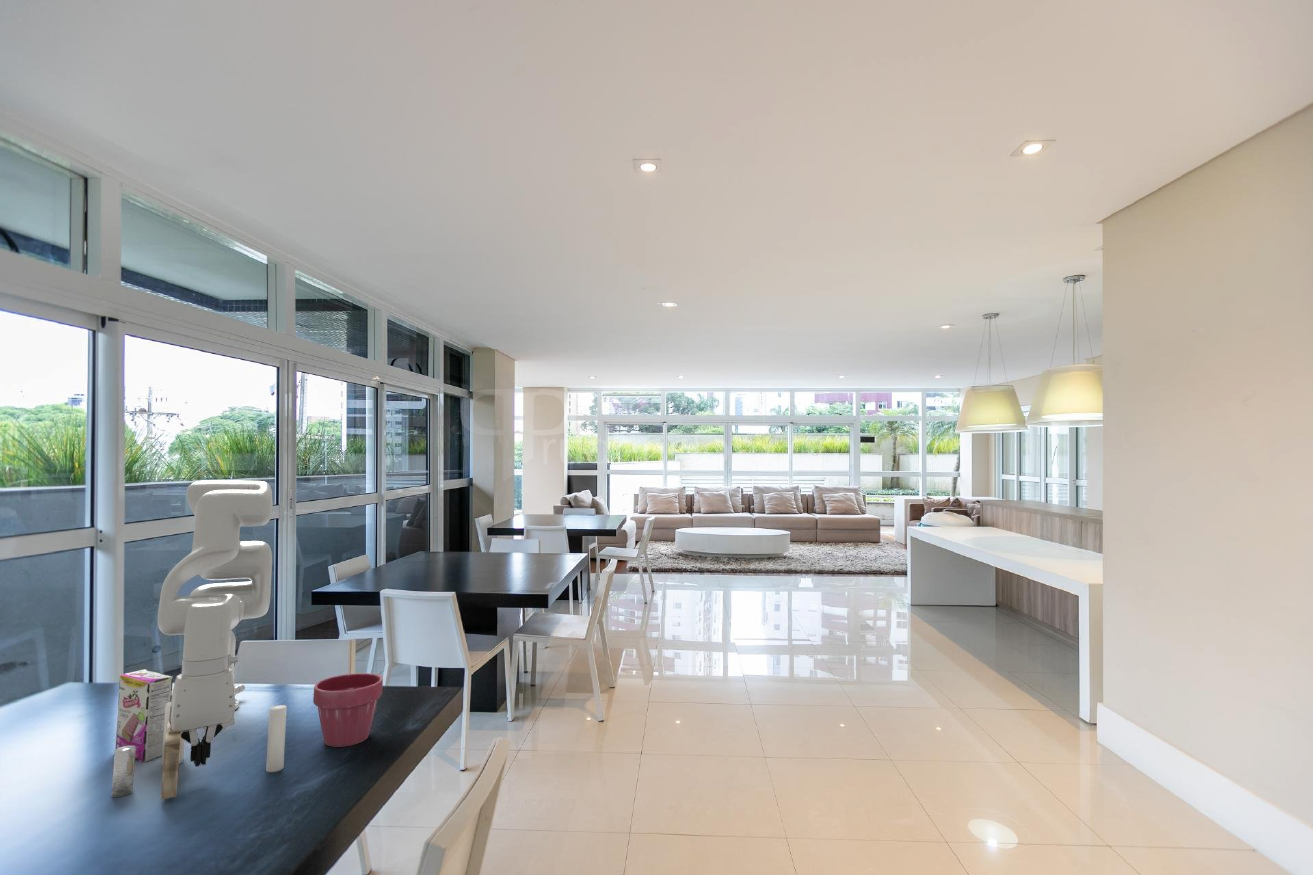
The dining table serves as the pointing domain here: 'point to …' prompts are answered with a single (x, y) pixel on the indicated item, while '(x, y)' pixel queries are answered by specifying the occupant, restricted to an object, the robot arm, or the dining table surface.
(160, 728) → the candy bar box
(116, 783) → the post
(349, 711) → the plant pot
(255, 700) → the dining table surface
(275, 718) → the gate posts
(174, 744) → the gate
